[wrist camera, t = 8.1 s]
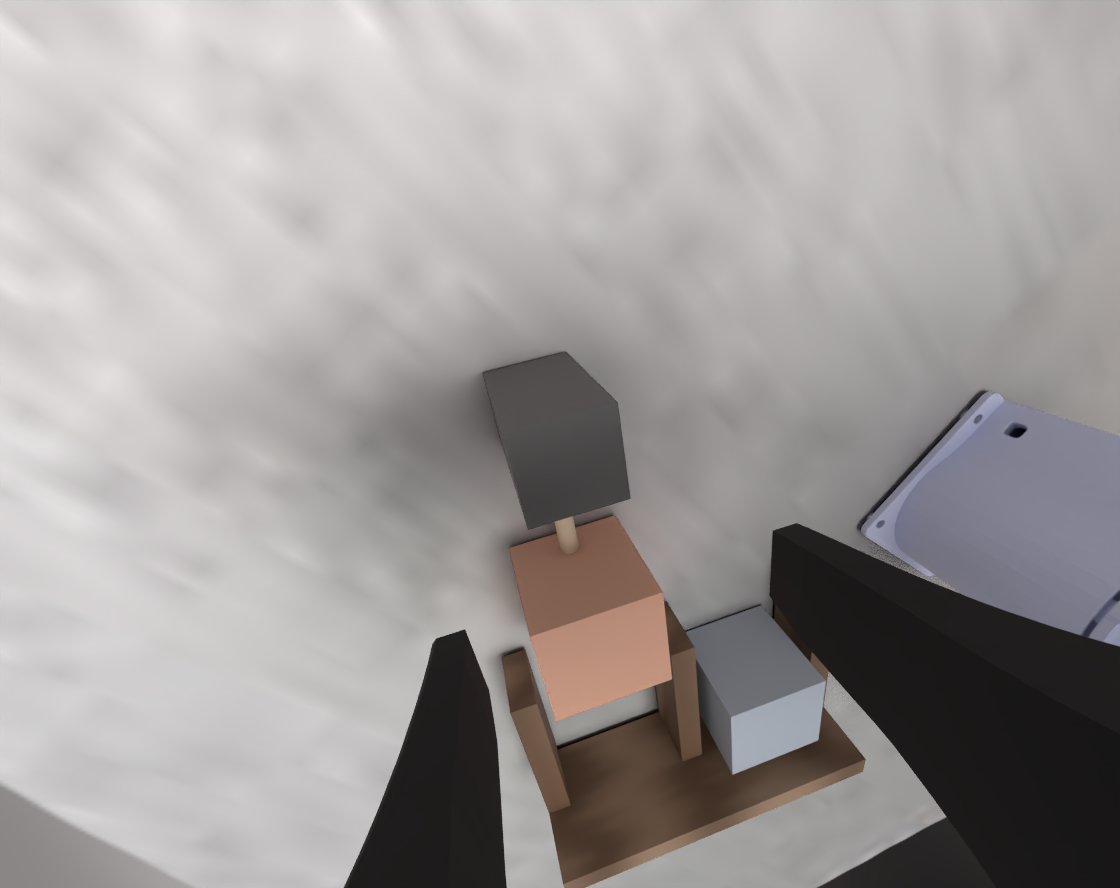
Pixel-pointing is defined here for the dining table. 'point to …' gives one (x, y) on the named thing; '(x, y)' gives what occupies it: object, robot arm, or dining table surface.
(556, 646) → the block
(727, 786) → the shelf lanes
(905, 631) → the robot arm
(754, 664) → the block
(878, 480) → the dining table surface
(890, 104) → the dining table surface
